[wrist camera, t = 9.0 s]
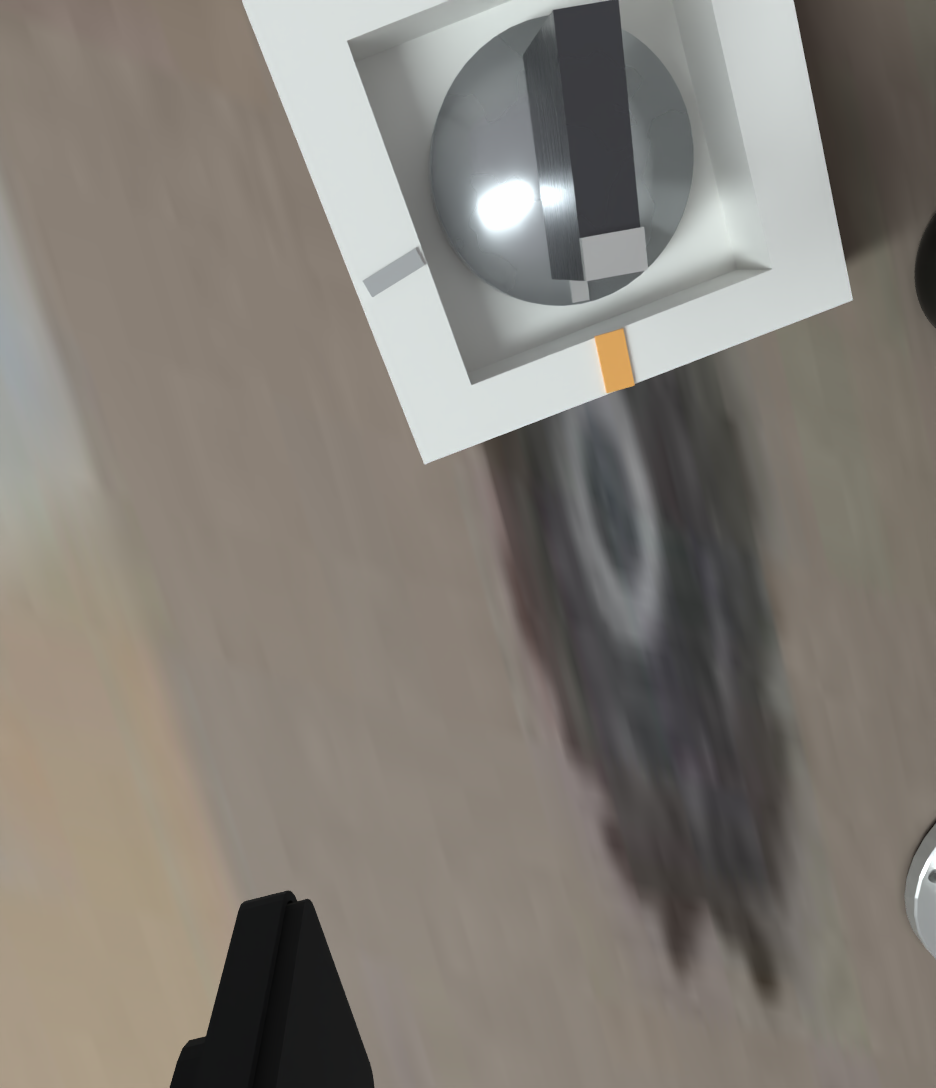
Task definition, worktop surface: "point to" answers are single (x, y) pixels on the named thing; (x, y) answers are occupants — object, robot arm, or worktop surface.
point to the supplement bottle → (927, 272)
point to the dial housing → (534, 329)
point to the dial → (561, 158)
